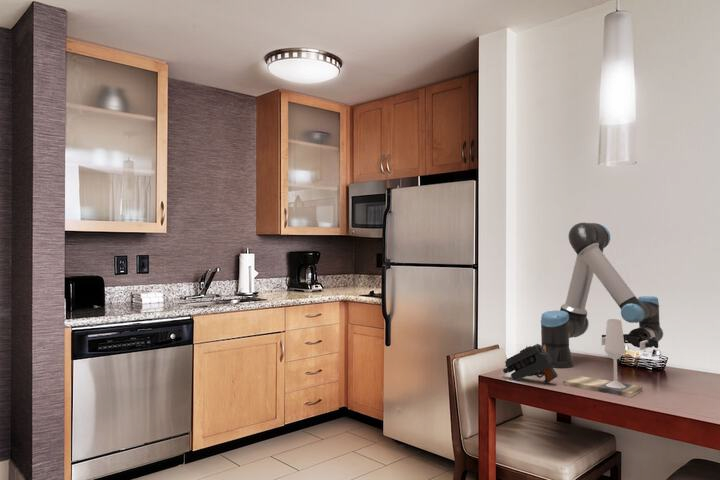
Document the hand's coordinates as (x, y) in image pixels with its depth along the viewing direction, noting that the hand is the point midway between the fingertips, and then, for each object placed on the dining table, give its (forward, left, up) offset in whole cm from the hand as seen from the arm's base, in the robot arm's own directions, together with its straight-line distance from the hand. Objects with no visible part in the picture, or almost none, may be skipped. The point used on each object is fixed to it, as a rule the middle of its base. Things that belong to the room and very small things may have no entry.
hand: (621, 343), depth 192 cm
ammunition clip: (-32, -4, -16) cm, 36 cm away
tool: (-29, -15, -16) cm, 37 cm away
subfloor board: (-5, -6, -16) cm, 18 cm away
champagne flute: (0, -6, -15) cm, 16 cm away
